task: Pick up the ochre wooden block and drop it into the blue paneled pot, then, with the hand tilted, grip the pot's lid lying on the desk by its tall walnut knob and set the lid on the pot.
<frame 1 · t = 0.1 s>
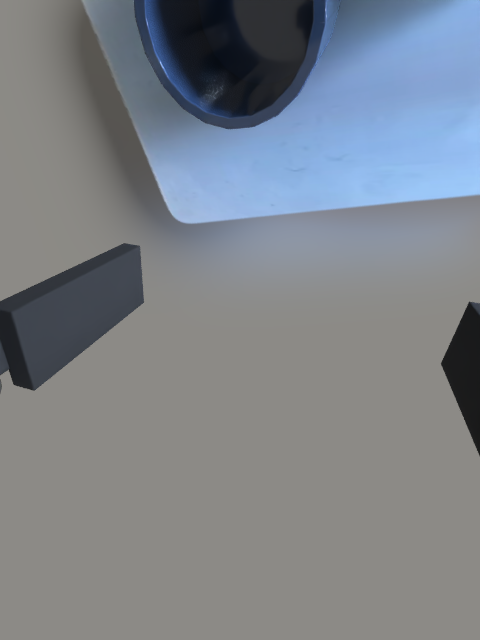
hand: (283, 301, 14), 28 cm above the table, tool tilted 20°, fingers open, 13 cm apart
blue paneled pot: (263, 3, 28), on the table
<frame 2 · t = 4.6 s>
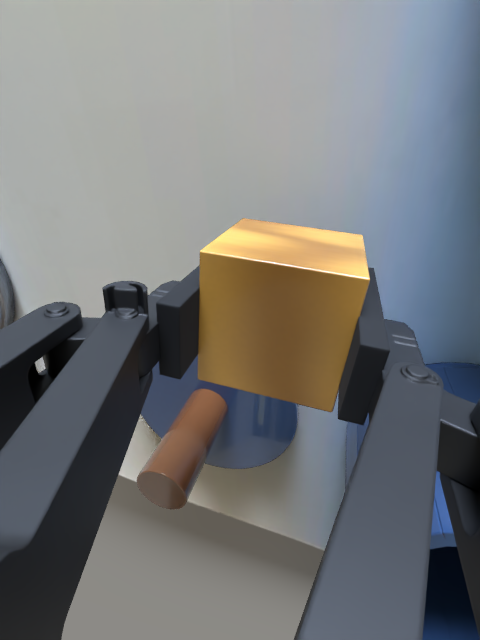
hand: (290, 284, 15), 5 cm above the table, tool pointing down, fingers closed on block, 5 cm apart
lid: (211, 400, 26), point 1 cm above the table
blue paneled pot: (445, 441, 23), on the table
block: (291, 281, 16), point 5 cm above the table, touching gripper
when the fingers open (10 cm above the table, at t = 10.1 s): block stays where it is, resting on blue paneled pot.
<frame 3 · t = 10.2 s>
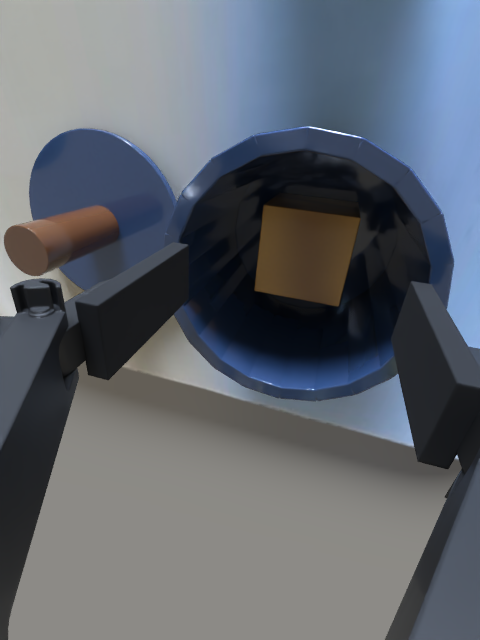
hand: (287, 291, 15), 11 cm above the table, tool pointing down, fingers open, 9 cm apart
lid: (106, 224, 28), point 1 cm above the table
blue paneled pot: (312, 234, 24), on the table
block: (311, 236, 24), point 1 cm above the table, touching blue paneled pot
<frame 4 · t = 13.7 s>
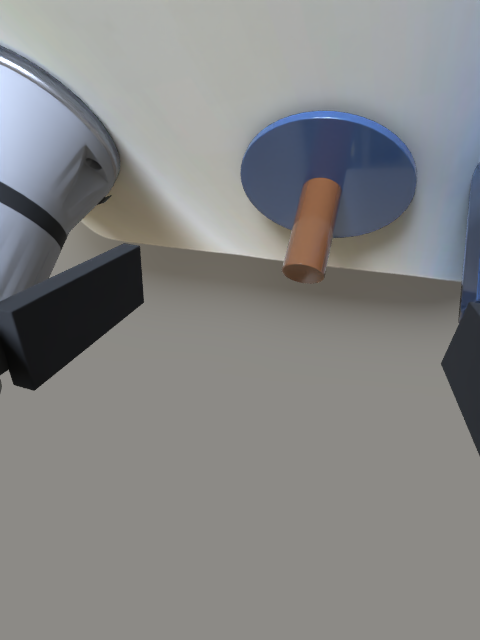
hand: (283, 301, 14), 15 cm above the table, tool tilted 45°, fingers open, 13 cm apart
lid: (323, 185, 27), point 1 cm above the table
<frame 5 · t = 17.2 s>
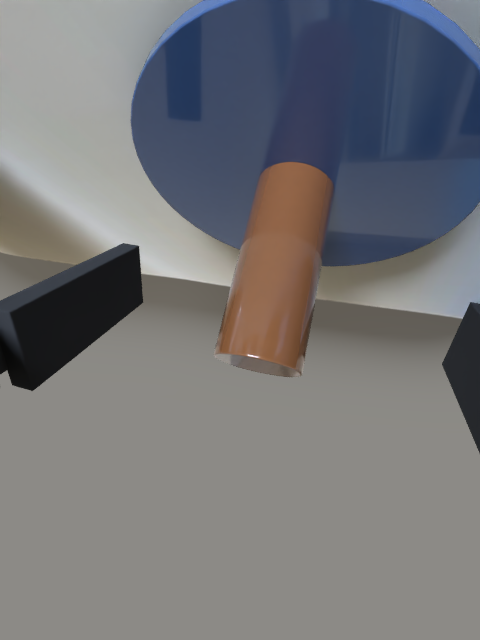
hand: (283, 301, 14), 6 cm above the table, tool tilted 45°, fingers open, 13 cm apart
lid: (297, 177, 14), point 1 cm above the table
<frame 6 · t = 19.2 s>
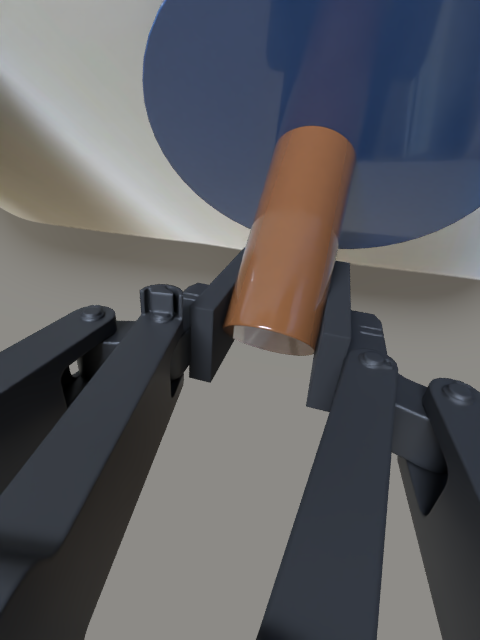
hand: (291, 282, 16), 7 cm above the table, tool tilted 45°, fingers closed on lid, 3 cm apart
lid: (317, 146, 13), point 3 cm above the table, touching gripper
when the fingers open (15 cm above the table, at t = 26.4 s): lid stays where it is, resting on blue paneled pot.
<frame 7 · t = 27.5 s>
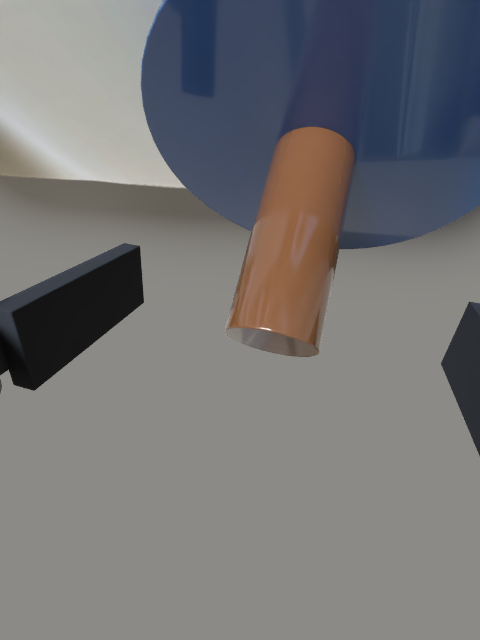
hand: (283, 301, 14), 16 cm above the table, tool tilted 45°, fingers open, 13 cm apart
lid: (316, 147, 13), point 10 cm above the table, touching blue paneled pot
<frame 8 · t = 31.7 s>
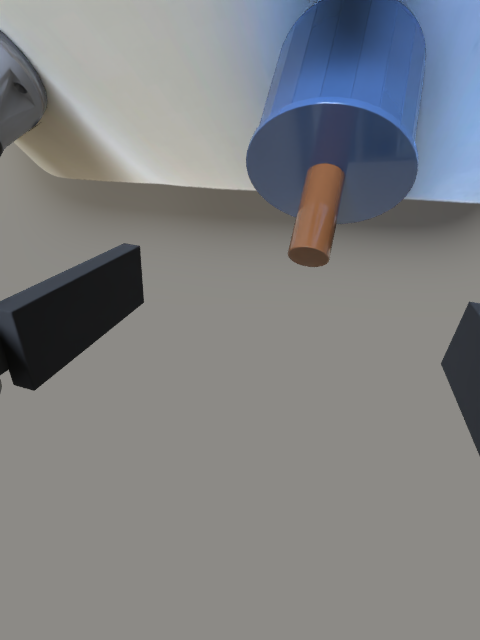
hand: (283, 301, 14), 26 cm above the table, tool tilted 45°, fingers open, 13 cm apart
lid: (326, 171, 28), point 10 cm above the table, touching blue paneled pot
blue paneled pot: (346, 74, 31), on the table
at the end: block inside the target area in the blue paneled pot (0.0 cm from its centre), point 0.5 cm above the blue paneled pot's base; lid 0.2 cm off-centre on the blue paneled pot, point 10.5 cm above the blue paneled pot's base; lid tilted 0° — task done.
